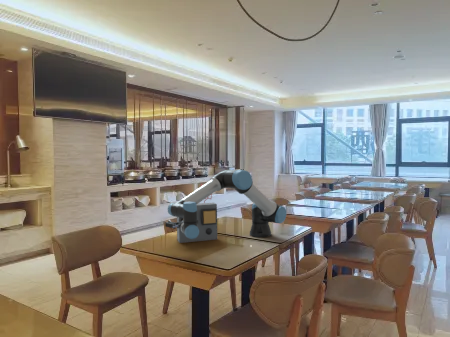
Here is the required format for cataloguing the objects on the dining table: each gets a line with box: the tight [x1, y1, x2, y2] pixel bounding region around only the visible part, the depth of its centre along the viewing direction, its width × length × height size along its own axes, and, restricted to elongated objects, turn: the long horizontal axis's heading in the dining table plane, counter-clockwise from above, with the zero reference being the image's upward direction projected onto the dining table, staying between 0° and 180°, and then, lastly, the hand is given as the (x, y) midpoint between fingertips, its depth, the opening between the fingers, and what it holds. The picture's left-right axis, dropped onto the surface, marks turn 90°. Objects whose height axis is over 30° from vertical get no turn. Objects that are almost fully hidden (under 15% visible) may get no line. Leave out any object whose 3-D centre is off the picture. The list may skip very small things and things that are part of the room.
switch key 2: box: [203, 210, 216, 224], centre depth 232 cm, size 3×8×8 cm, turn 108°
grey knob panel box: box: [176, 202, 218, 244], centre depth 235 cm, size 10×26×24 cm, turn 108°
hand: (179, 220), depth 220 cm, fingers open, 13 cm apart
